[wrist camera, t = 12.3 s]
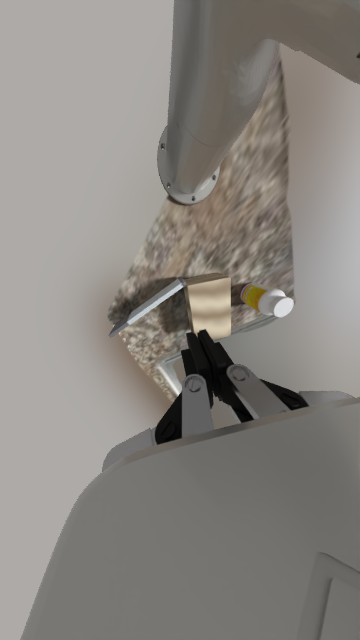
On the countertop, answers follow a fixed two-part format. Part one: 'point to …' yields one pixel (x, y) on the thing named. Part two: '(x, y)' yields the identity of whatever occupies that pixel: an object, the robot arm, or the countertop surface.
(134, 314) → the door
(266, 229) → the countertop surface
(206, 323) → the cabinet
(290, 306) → the supplement bottle
